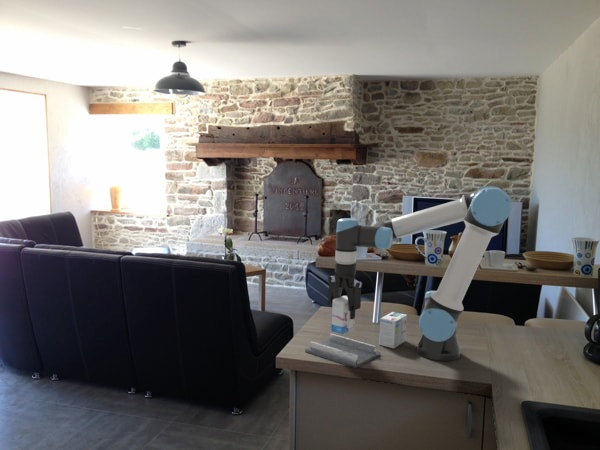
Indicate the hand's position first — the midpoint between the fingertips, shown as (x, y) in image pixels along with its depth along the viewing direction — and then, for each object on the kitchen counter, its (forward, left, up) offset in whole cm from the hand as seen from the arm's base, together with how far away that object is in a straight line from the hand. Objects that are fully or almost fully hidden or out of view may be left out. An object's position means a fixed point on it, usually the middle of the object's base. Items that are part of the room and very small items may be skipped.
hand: (343, 325), depth 190 cm
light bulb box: (-8, -22, -11) cm, 26 cm away
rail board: (0, 0, -11) cm, 11 cm away
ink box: (0, 0, -2) cm, 2 cm away
